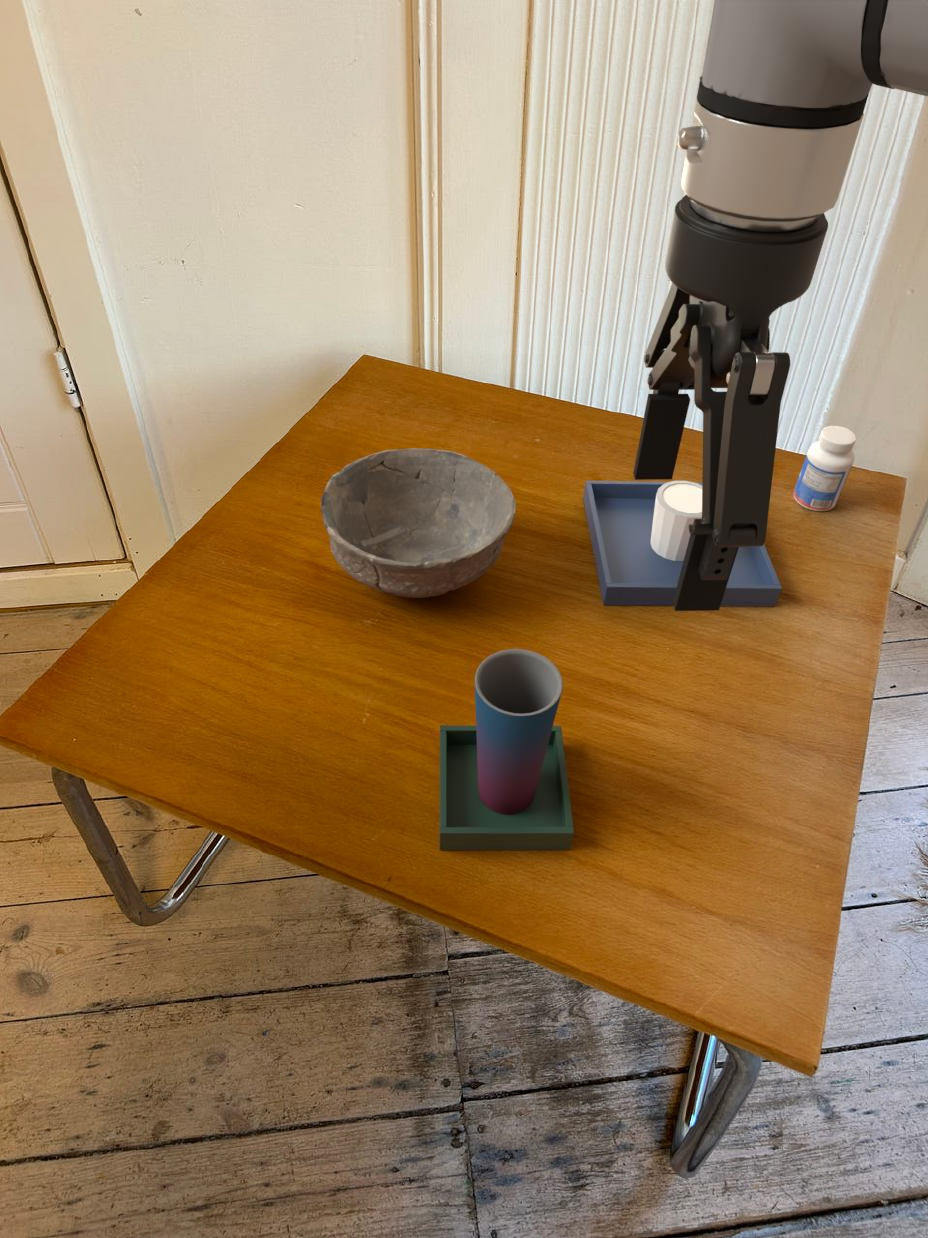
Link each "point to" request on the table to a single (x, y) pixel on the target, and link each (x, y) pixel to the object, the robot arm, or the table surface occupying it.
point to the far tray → (642, 573)
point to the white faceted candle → (675, 518)
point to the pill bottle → (825, 469)
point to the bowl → (416, 520)
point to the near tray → (484, 829)
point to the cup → (513, 725)
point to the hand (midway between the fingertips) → (672, 536)
